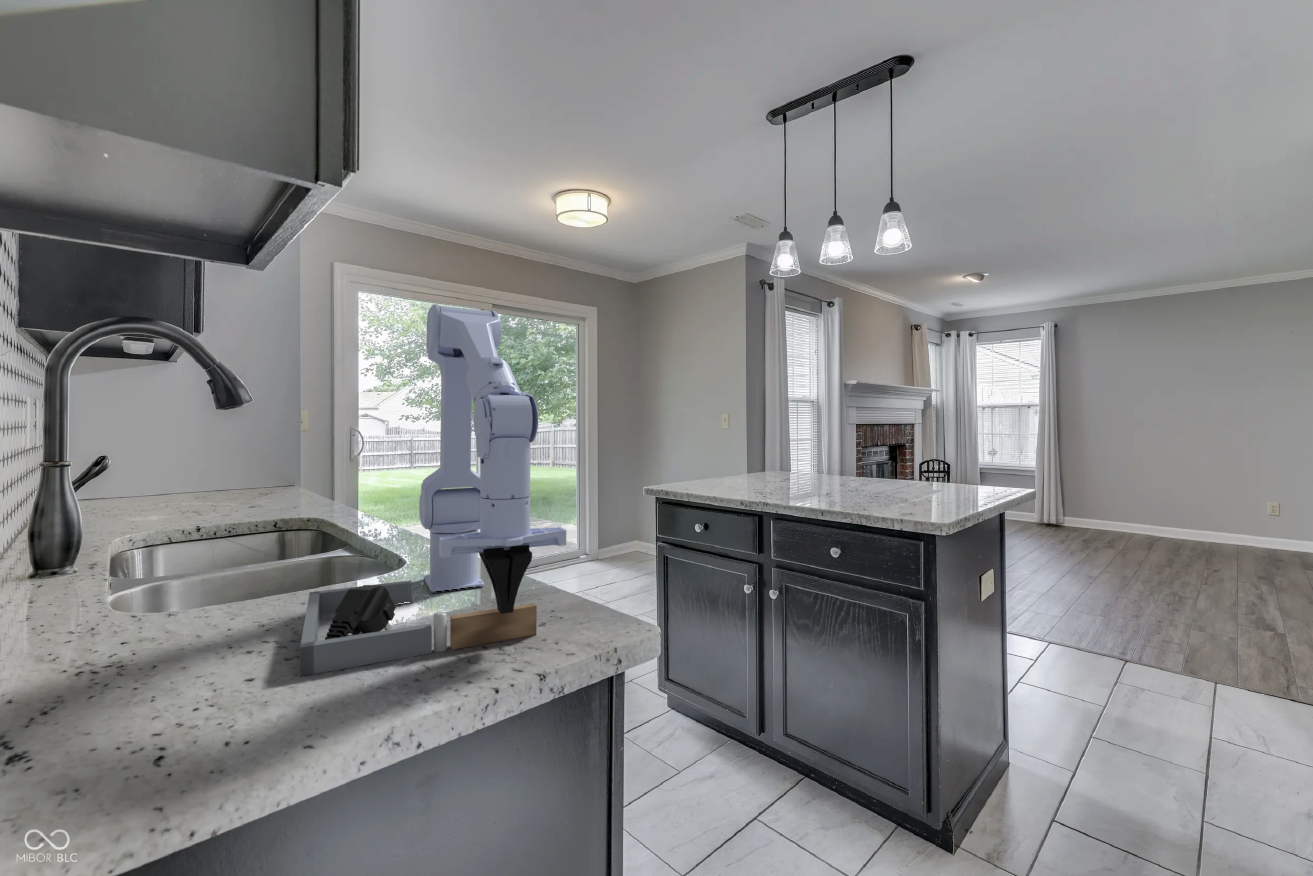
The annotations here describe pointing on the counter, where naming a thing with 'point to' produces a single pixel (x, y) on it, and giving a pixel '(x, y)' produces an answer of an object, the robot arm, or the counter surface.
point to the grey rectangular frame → (365, 635)
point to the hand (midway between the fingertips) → (505, 610)
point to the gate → (492, 626)
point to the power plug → (362, 612)
